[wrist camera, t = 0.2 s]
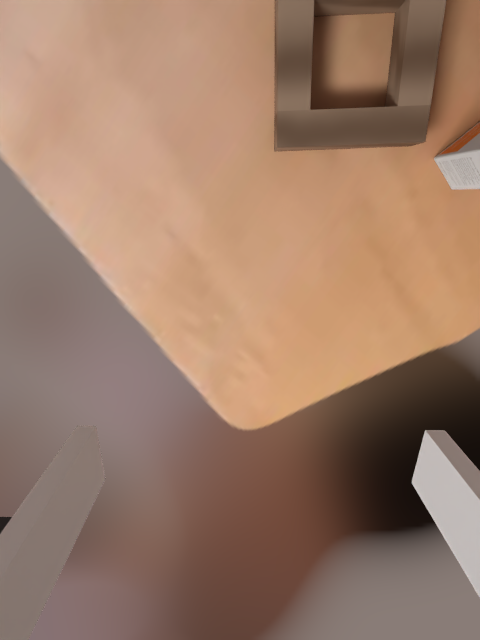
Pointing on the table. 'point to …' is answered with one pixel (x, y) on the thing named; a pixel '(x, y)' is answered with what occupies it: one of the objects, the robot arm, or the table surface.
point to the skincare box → (462, 161)
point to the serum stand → (356, 123)
